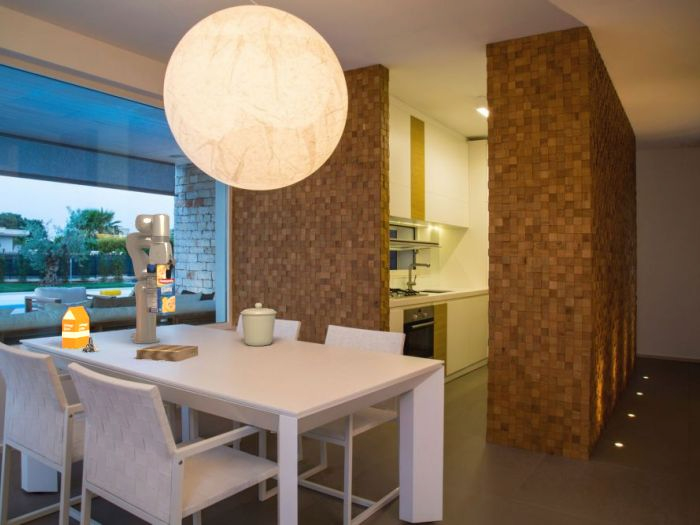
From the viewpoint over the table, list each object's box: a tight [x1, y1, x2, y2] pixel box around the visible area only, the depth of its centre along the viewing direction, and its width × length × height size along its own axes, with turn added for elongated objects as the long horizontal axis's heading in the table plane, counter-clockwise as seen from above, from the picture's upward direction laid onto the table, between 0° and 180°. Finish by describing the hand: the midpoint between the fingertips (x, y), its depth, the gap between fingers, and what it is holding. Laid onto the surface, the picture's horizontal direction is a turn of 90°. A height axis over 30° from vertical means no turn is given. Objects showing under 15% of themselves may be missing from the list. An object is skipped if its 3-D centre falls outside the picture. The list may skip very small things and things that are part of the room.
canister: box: [240, 302, 277, 347], centre depth 273 cm, size 18×18×21 cm
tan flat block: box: [136, 344, 199, 362], centre depth 238 cm, size 20×16×4 cm
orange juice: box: [61, 305, 90, 350], centre depth 260 cm, size 8×9×20 cm
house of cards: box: [81, 336, 101, 353], centre depth 247 cm, size 9×9×8 cm
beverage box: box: [147, 264, 176, 314], centre depth 255 cm, size 7×11×22 cm, turn 151°
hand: (161, 278), depth 255 cm, fingers closed on beverage box, 7 cm apart
